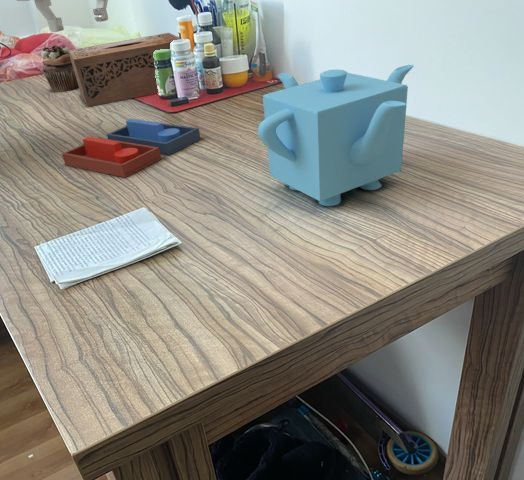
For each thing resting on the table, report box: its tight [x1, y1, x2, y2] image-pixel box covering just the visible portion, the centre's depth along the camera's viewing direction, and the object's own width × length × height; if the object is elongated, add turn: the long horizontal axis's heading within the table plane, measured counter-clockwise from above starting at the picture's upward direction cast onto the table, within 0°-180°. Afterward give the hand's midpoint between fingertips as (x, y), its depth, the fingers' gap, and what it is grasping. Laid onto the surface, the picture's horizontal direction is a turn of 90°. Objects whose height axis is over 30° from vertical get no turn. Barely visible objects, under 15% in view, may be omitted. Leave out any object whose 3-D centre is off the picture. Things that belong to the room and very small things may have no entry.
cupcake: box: [40, 44, 79, 93], centre depth 136 cm, size 10×10×10 cm
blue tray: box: [106, 123, 202, 156], centre depth 95 cm, size 16×9×2 cm, turn 55°
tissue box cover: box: [68, 32, 181, 108], centre depth 126 cm, size 26×14×10 cm, turn 112°
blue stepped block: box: [125, 118, 180, 142], centre depth 95 cm, size 12×4×3 cm, turn 54°
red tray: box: [61, 137, 162, 178], centre depth 89 cm, size 16×9×2 cm, turn 55°
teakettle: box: [257, 64, 415, 207], centre depth 68 cm, size 19×19×15 cm
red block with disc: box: [82, 136, 139, 164], centre depth 88 cm, size 12×4×3 cm, turn 54°
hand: (80, 25), depth 85 cm, fingers open, 8 cm apart
